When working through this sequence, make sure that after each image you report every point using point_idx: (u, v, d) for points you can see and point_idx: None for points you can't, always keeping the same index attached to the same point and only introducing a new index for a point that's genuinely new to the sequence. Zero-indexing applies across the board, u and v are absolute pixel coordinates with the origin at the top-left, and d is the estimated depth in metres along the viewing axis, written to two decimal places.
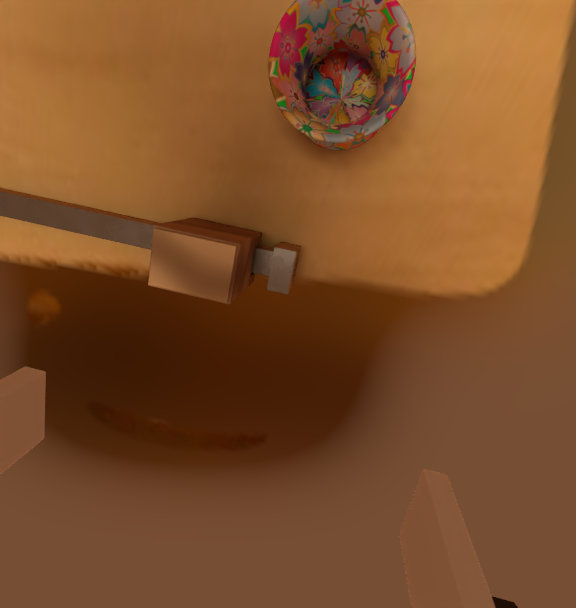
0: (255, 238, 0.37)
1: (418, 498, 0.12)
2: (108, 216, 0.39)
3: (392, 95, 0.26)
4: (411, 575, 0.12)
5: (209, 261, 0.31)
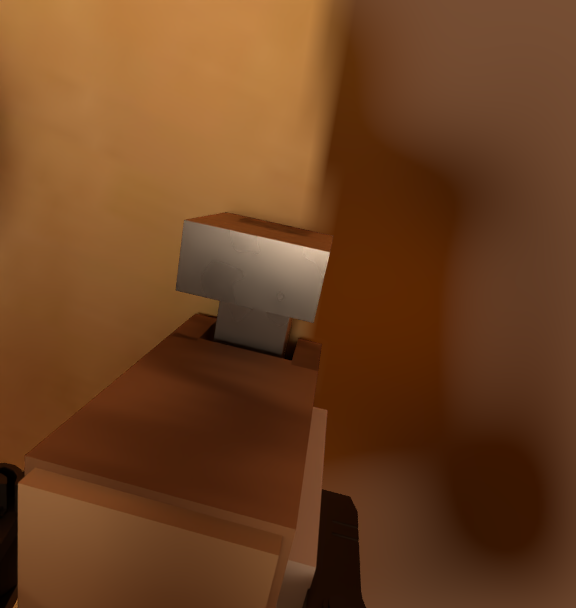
0: (171, 341, 0.13)
1: None
2: None
3: None
4: None
5: (98, 589, 0.07)
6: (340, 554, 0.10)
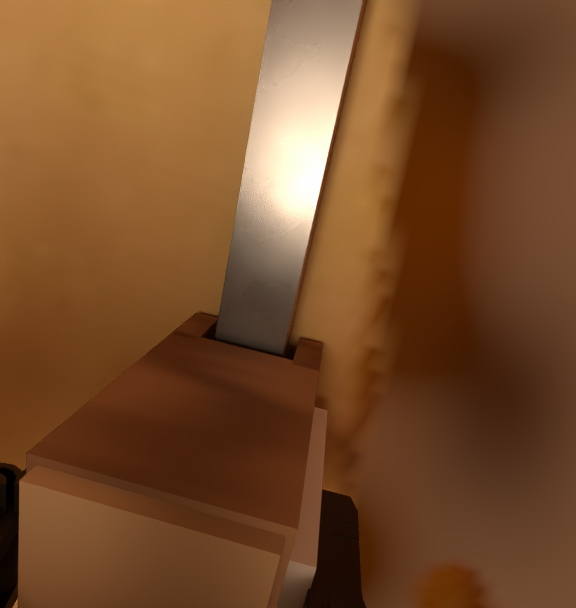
0: (173, 339, 0.13)
1: None
2: None
3: None
4: None
5: (99, 587, 0.07)
6: (340, 554, 0.10)
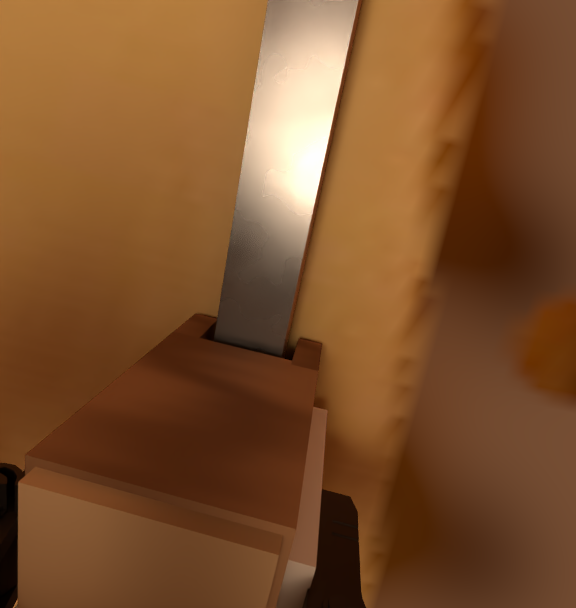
0: (172, 341, 0.13)
1: None
2: (271, 2, 0.11)
3: None
4: None
5: (98, 588, 0.07)
6: (340, 554, 0.10)
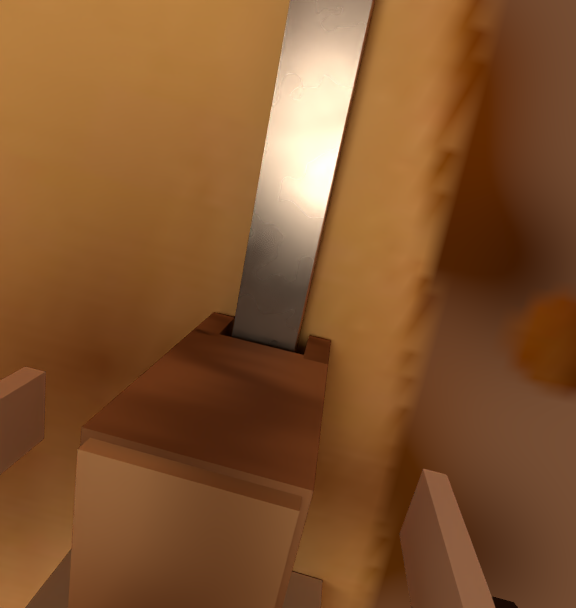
0: (194, 336, 0.14)
1: (418, 498, 0.12)
2: (288, 28, 0.12)
3: None
4: (411, 575, 0.12)
5: (142, 543, 0.08)
6: None
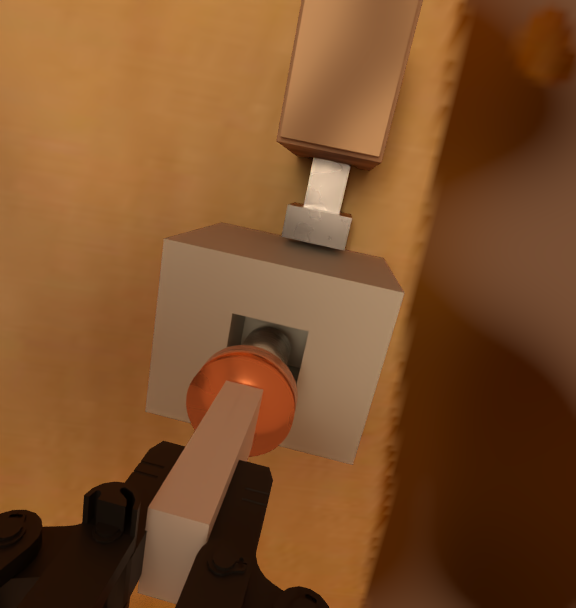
0: None
1: None
2: None
3: None
4: None
5: (338, 25, 0.17)
6: (244, 517, 0.10)
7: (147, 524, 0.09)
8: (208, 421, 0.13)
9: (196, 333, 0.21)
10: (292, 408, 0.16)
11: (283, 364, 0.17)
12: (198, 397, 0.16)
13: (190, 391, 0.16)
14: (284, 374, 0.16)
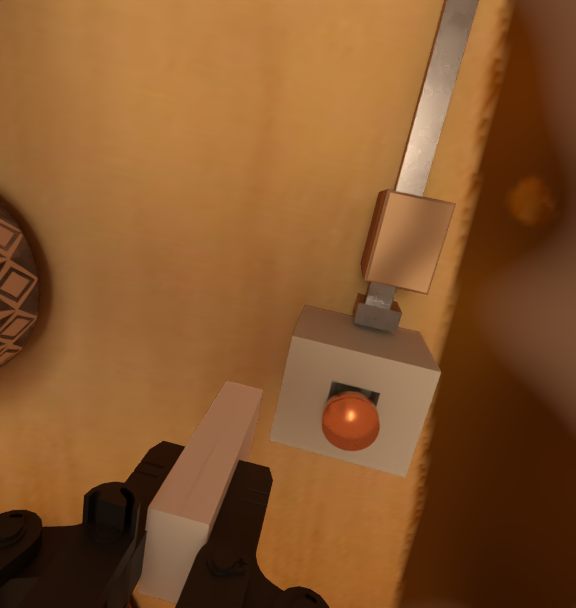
0: None
1: None
2: (429, 71, 0.33)
3: None
4: None
5: (404, 222, 0.30)
6: (244, 517, 0.10)
7: (147, 524, 0.09)
8: (208, 421, 0.13)
9: (307, 392, 0.33)
10: (379, 425, 0.30)
11: (372, 402, 0.31)
12: (328, 419, 0.31)
13: (324, 416, 0.31)
14: (373, 407, 0.31)
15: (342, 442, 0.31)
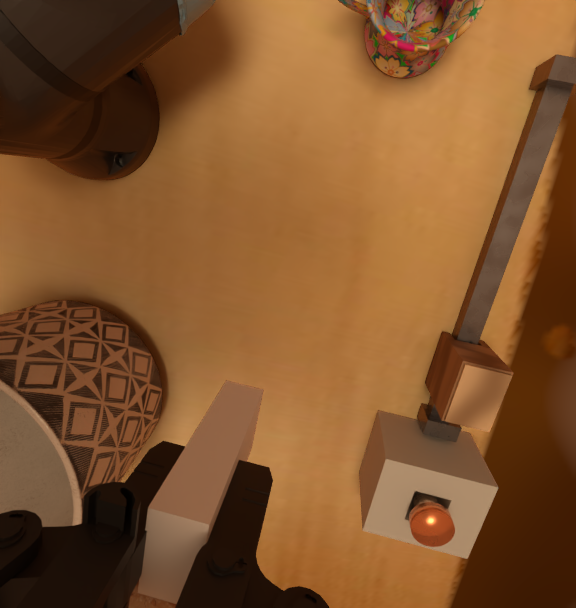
0: (450, 340, 0.46)
1: None
2: (487, 255, 0.44)
3: None
4: None
5: (475, 385, 0.40)
6: (244, 517, 0.10)
7: (147, 524, 0.09)
8: (208, 421, 0.13)
9: (395, 498, 0.44)
10: (454, 530, 0.41)
11: (447, 510, 0.42)
12: (416, 524, 0.42)
13: (413, 522, 0.42)
14: (450, 516, 0.42)
15: (426, 540, 0.42)
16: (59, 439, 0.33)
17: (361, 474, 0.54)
